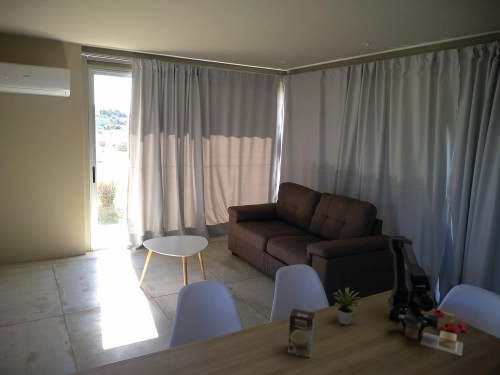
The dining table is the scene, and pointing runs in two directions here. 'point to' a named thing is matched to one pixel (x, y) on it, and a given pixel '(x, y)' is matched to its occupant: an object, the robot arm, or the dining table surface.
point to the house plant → (346, 306)
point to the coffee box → (301, 332)
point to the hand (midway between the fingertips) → (412, 334)
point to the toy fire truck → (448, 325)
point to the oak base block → (447, 340)
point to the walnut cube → (412, 330)
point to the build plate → (434, 342)
